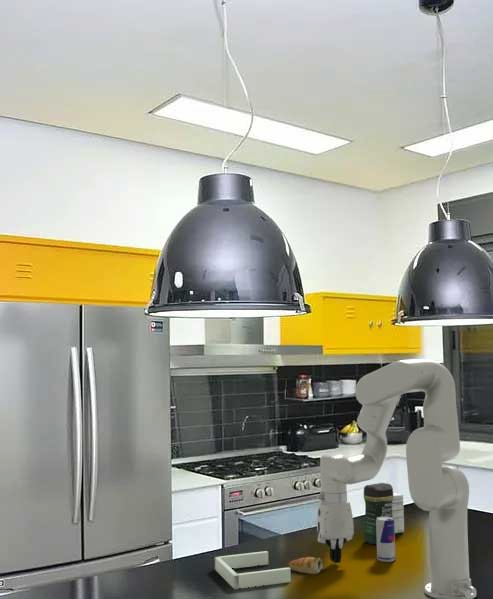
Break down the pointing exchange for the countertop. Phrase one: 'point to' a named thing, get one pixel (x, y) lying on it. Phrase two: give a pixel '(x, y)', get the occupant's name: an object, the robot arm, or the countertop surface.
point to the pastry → (306, 565)
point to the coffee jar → (376, 507)
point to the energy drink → (385, 539)
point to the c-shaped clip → (251, 578)
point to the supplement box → (398, 512)
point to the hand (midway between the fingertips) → (335, 561)
